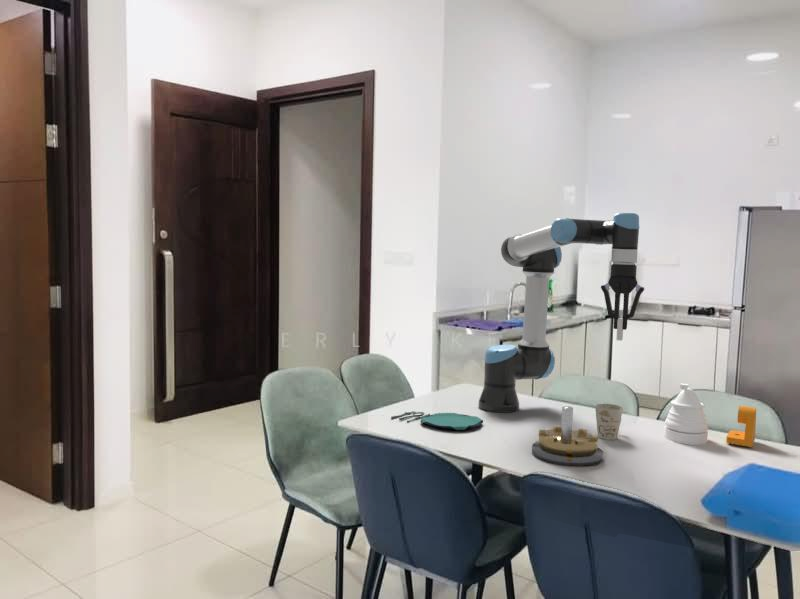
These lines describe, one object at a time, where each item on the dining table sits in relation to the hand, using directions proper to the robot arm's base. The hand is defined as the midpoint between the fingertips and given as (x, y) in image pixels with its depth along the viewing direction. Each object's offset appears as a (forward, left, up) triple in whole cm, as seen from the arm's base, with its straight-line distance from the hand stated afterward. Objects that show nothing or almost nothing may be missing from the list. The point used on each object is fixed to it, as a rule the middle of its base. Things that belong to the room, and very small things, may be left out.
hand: (619, 339), depth 207 cm
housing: (-10, -22, -32) cm, 40 cm away
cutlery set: (-57, -6, -33) cm, 66 cm away
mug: (-2, +7, -33) cm, 33 cm away
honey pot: (+20, +17, -33) cm, 42 cm away
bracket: (+36, +21, -33) cm, 53 cm away
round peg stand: (-10, -22, -30) cm, 38 cm away
